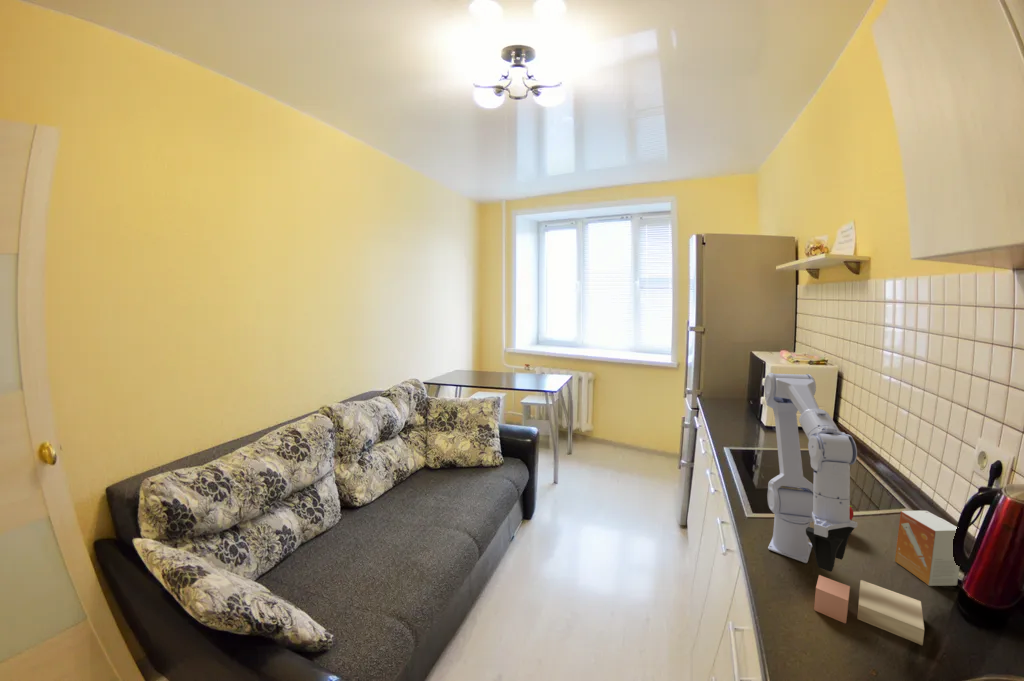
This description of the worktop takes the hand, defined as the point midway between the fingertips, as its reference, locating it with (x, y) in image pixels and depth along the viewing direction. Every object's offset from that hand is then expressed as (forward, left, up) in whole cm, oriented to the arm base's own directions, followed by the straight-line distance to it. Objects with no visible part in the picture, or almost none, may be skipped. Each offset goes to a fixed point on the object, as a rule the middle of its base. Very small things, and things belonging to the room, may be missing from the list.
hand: (830, 563), depth 80 cm
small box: (-28, +15, -11) cm, 33 cm away
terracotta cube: (-1, +1, -10) cm, 10 cm away
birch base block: (-6, +9, -11) cm, 15 cm away
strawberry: (-36, -1, -10) cm, 37 cm away
